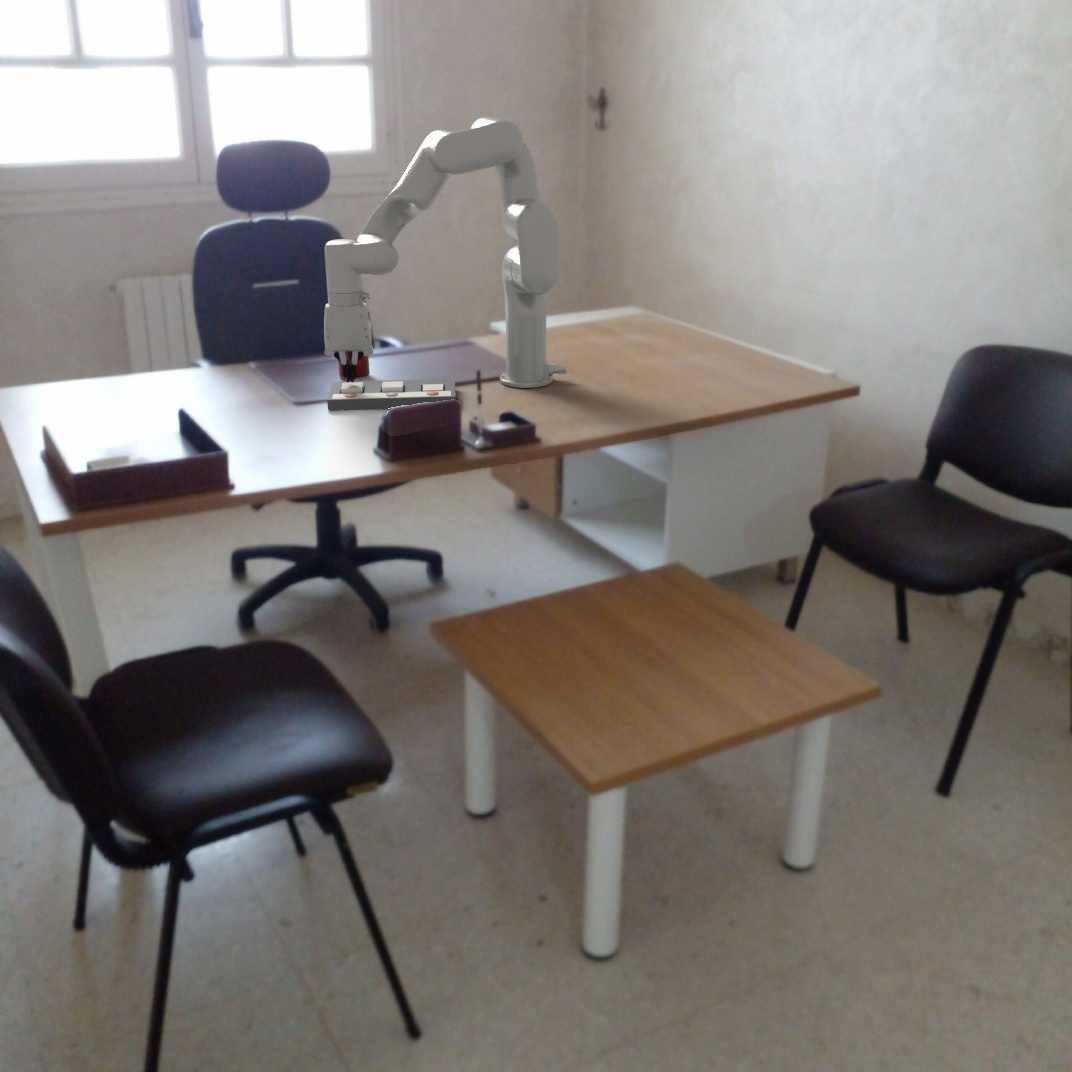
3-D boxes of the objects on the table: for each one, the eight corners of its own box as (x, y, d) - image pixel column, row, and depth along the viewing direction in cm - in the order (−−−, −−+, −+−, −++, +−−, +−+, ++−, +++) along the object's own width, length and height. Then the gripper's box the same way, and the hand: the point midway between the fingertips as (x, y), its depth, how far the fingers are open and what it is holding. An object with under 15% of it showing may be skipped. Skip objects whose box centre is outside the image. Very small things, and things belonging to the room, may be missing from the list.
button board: (455, 389, 262) (454, 377, 261) (456, 407, 249) (455, 395, 248) (333, 392, 260) (332, 380, 259) (328, 410, 247) (327, 398, 246)
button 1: (363, 388, 255) (363, 382, 255) (362, 394, 251) (361, 388, 251) (343, 388, 255) (342, 382, 254) (341, 394, 251) (340, 388, 250)
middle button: (403, 387, 256) (403, 381, 255) (402, 393, 252) (402, 386, 251) (383, 387, 256) (382, 381, 255) (382, 393, 251) (381, 387, 251)
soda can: (372, 372, 275) (369, 324, 270) (365, 381, 268) (362, 331, 264) (343, 372, 276) (340, 323, 271) (335, 380, 269) (332, 330, 264)
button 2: (443, 389, 257) (443, 383, 256) (443, 395, 253) (443, 389, 252) (423, 390, 257) (422, 384, 256) (422, 396, 252) (422, 390, 252)
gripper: (380, 294, 248) (385, 375, 256) (312, 295, 247) (318, 376, 255) (379, 301, 242) (383, 384, 249) (308, 302, 241) (315, 386, 248)
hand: (350, 380), depth 252 cm, fingers closed
